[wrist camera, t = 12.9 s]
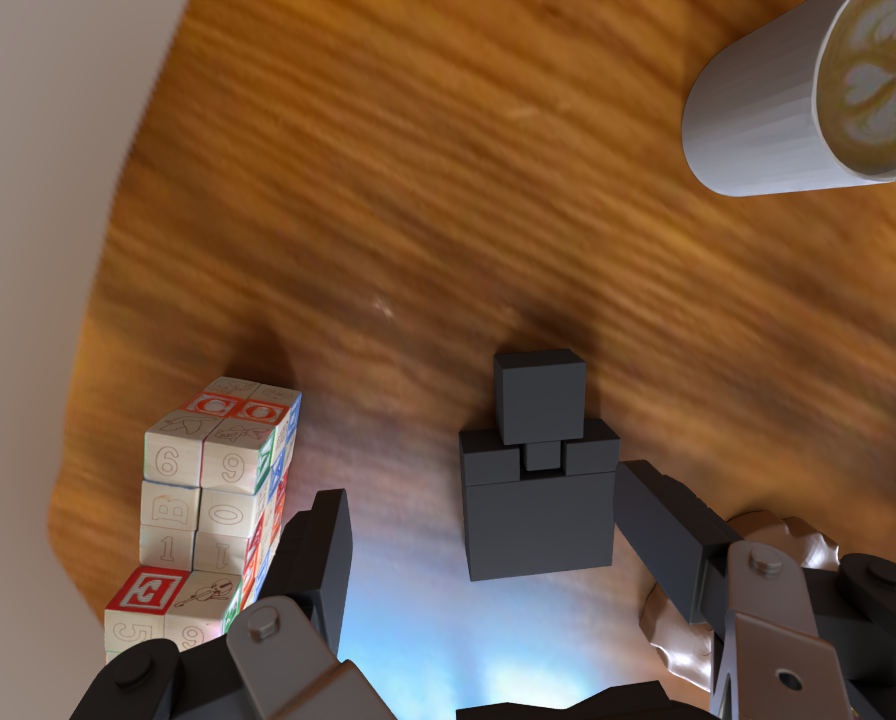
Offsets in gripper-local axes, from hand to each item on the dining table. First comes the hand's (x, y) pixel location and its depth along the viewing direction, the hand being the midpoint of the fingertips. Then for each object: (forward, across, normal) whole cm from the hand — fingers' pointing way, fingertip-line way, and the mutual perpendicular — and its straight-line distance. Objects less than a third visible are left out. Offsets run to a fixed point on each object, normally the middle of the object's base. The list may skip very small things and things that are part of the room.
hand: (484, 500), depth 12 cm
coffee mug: (+20, -24, -13) cm, 34 cm away
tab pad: (+20, -8, +6) cm, 23 cm away
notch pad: (+20, -8, +14) cm, 26 cm away
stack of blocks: (+21, +16, +13) cm, 30 cm away
